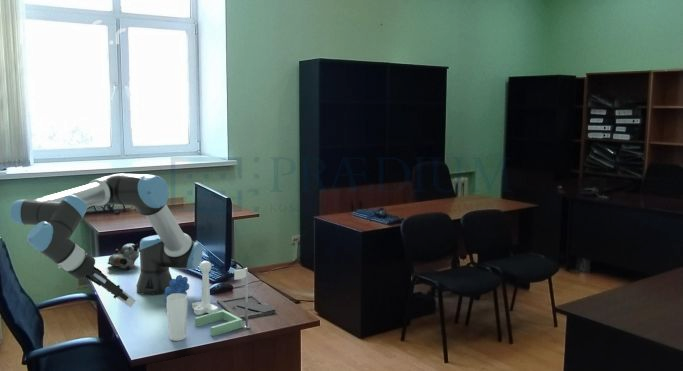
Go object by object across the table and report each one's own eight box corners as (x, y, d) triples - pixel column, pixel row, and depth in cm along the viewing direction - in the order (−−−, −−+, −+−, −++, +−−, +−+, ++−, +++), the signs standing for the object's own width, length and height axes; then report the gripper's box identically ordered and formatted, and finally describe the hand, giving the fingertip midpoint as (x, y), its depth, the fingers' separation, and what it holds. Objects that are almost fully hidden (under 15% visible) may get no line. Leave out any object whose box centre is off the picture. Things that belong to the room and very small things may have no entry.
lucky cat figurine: (108, 264, 281) (120, 237, 285) (132, 273, 284) (144, 246, 287) (104, 264, 267) (117, 236, 270) (129, 273, 269) (142, 245, 273)
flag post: (232, 330, 207) (232, 269, 204) (247, 325, 211) (247, 266, 208) (236, 332, 205) (236, 271, 202) (251, 327, 210) (251, 268, 206)
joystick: (220, 312, 223) (219, 262, 220) (205, 318, 217) (204, 266, 214) (200, 306, 230) (199, 257, 227) (185, 311, 223) (184, 261, 220)
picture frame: (275, 314, 224) (253, 297, 242) (275, 309, 224) (253, 293, 242) (236, 321, 216) (217, 304, 234) (236, 316, 216) (217, 299, 233)
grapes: (182, 298, 237) (181, 270, 235) (193, 302, 233) (192, 273, 231) (158, 306, 228) (157, 277, 226) (168, 310, 224) (168, 280, 222)
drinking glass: (169, 334, 202) (168, 293, 200) (189, 334, 203) (188, 293, 200) (165, 342, 195) (164, 300, 193) (185, 342, 196) (185, 299, 194)
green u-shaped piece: (194, 325, 210) (194, 317, 210) (223, 317, 219) (223, 309, 218) (212, 336, 201) (212, 328, 201) (242, 327, 210) (242, 319, 209)
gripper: (60, 266, 175) (116, 307, 189) (75, 277, 166) (133, 319, 180) (77, 247, 178) (131, 288, 192) (93, 256, 169) (149, 299, 182)
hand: (132, 303), depth 186 cm, fingers closed
